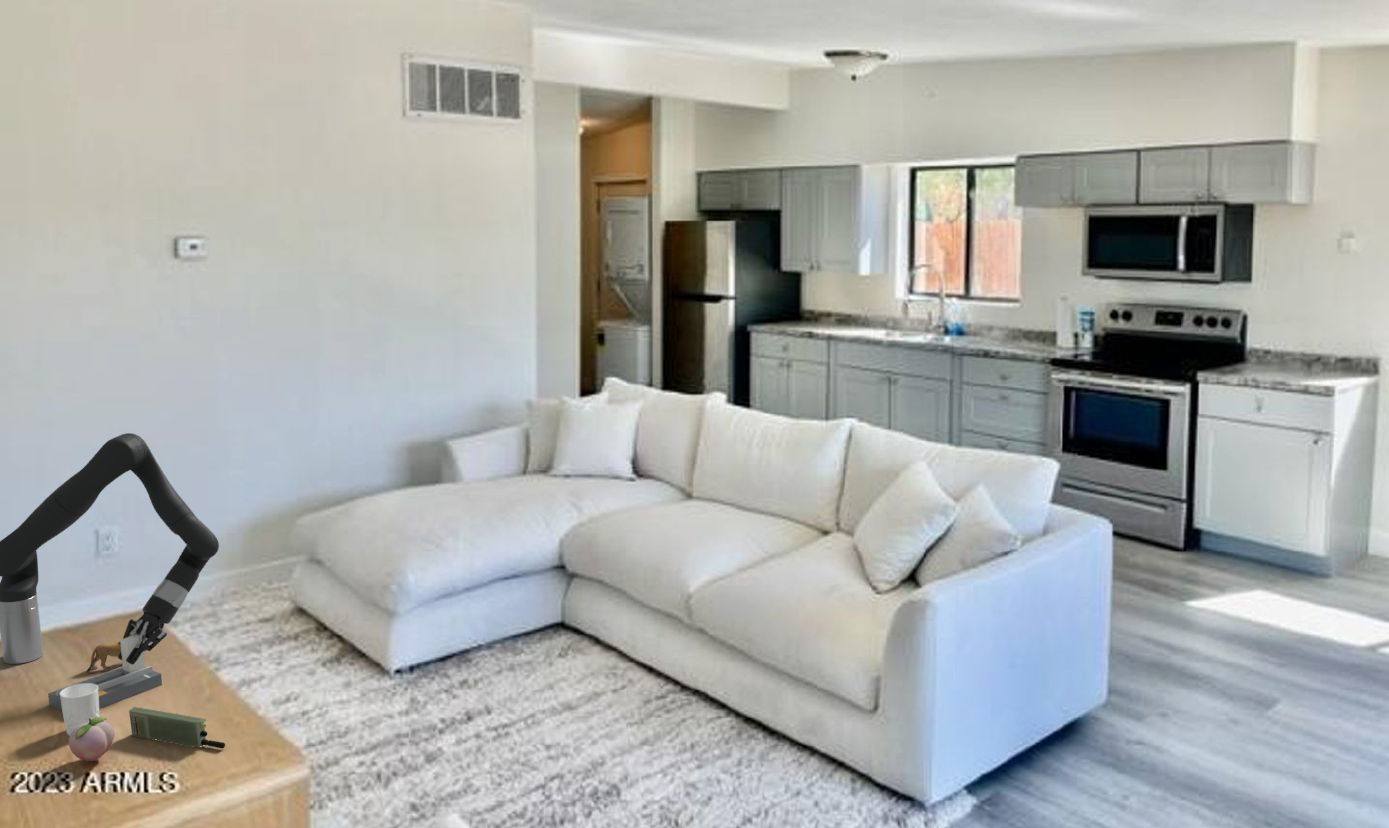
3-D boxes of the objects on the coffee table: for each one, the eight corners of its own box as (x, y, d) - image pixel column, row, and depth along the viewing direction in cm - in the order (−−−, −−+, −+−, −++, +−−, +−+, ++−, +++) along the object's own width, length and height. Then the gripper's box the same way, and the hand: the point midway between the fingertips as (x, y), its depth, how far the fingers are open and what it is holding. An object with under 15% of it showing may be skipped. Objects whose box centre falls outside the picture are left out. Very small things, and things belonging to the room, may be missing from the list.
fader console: (49, 705, 277) (47, 687, 276) (134, 674, 295) (133, 657, 294) (76, 717, 271) (74, 699, 270) (162, 684, 289) (160, 668, 288)
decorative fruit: (86, 750, 254) (81, 708, 253) (122, 751, 254) (118, 709, 252) (61, 771, 245) (57, 728, 243) (99, 772, 245) (94, 728, 243)
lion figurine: (142, 655, 307) (140, 624, 306) (149, 661, 304) (146, 629, 302) (83, 670, 297) (80, 638, 296) (90, 676, 294) (86, 643, 292)
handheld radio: (140, 731, 264) (229, 747, 257) (129, 738, 261) (219, 754, 254) (137, 705, 263) (226, 720, 255) (126, 711, 260) (216, 727, 252)
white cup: (109, 727, 266) (105, 687, 264) (79, 741, 259) (75, 700, 257) (86, 720, 269) (82, 680, 267) (56, 734, 262) (51, 693, 260)
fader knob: (122, 673, 288) (119, 639, 286) (137, 667, 291) (134, 634, 290) (131, 676, 286) (128, 642, 284) (146, 671, 289) (143, 637, 287)
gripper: (139, 589, 295) (98, 649, 287) (172, 599, 288) (130, 661, 280) (160, 602, 300) (120, 661, 292) (192, 613, 293) (152, 674, 285)
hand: (125, 661), depth 286 cm, fingers closed on fader knob, 3 cm apart
